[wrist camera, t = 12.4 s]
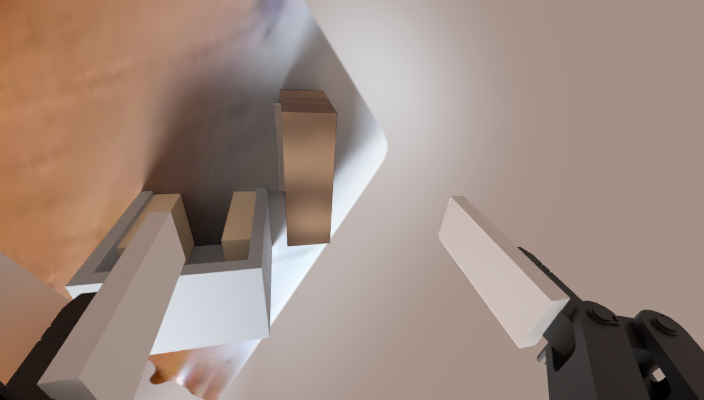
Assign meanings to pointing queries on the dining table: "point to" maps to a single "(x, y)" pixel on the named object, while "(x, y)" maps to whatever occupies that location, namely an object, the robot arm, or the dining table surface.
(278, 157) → the mat
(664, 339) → the robot arm
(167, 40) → the dining table surface
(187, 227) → the white storage bin
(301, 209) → the walnut blank
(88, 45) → the dining table surface
